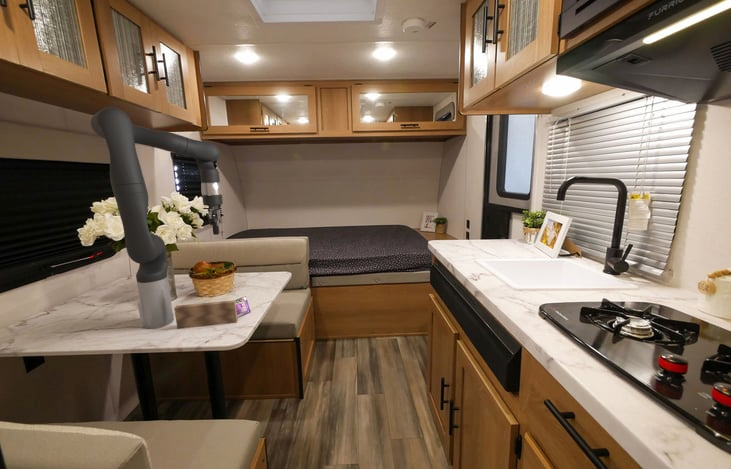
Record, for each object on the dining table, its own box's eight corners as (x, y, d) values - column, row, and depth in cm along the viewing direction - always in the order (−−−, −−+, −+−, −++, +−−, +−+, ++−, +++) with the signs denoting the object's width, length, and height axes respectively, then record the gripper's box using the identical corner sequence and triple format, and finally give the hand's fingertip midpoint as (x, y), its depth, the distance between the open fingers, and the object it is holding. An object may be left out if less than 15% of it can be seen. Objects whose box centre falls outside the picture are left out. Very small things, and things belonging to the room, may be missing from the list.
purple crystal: (225, 303, 116) (246, 295, 123) (218, 305, 119) (240, 297, 126) (230, 321, 116) (251, 312, 123) (223, 322, 119) (245, 313, 126)
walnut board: (177, 329, 111) (174, 308, 110) (179, 326, 113) (176, 305, 112) (236, 322, 115) (234, 302, 113) (237, 320, 117) (235, 300, 115)
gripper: (206, 193, 136) (211, 232, 139) (197, 194, 123) (202, 237, 126) (225, 192, 137) (229, 231, 140) (217, 194, 124) (222, 236, 128)
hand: (216, 234), depth 133 cm, fingers closed
